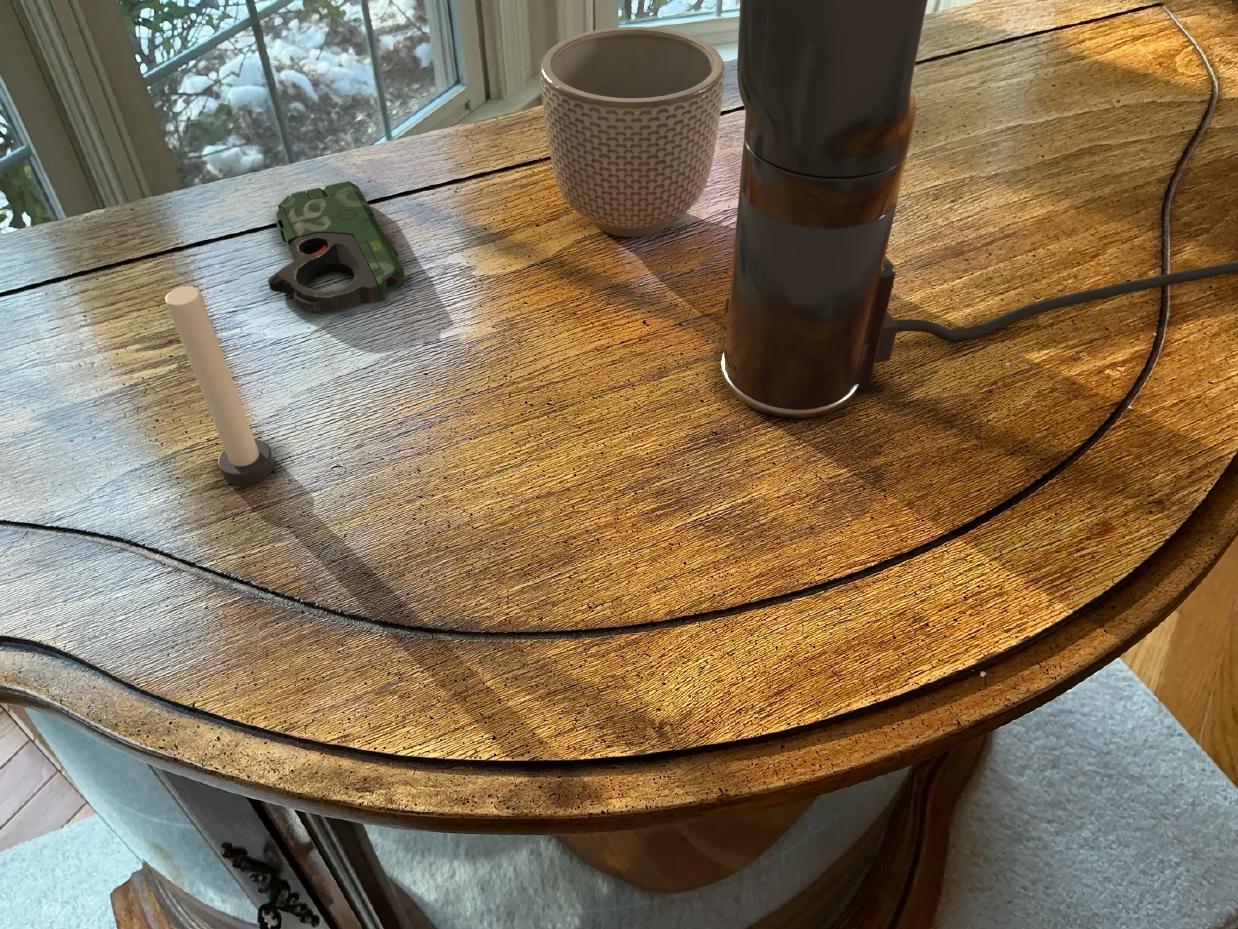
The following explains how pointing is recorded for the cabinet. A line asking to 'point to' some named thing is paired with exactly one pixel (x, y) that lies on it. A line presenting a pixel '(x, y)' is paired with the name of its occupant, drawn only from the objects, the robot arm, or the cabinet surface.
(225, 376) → the beige rod with base
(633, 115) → the planter
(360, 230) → the gun
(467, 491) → the cabinet surface
